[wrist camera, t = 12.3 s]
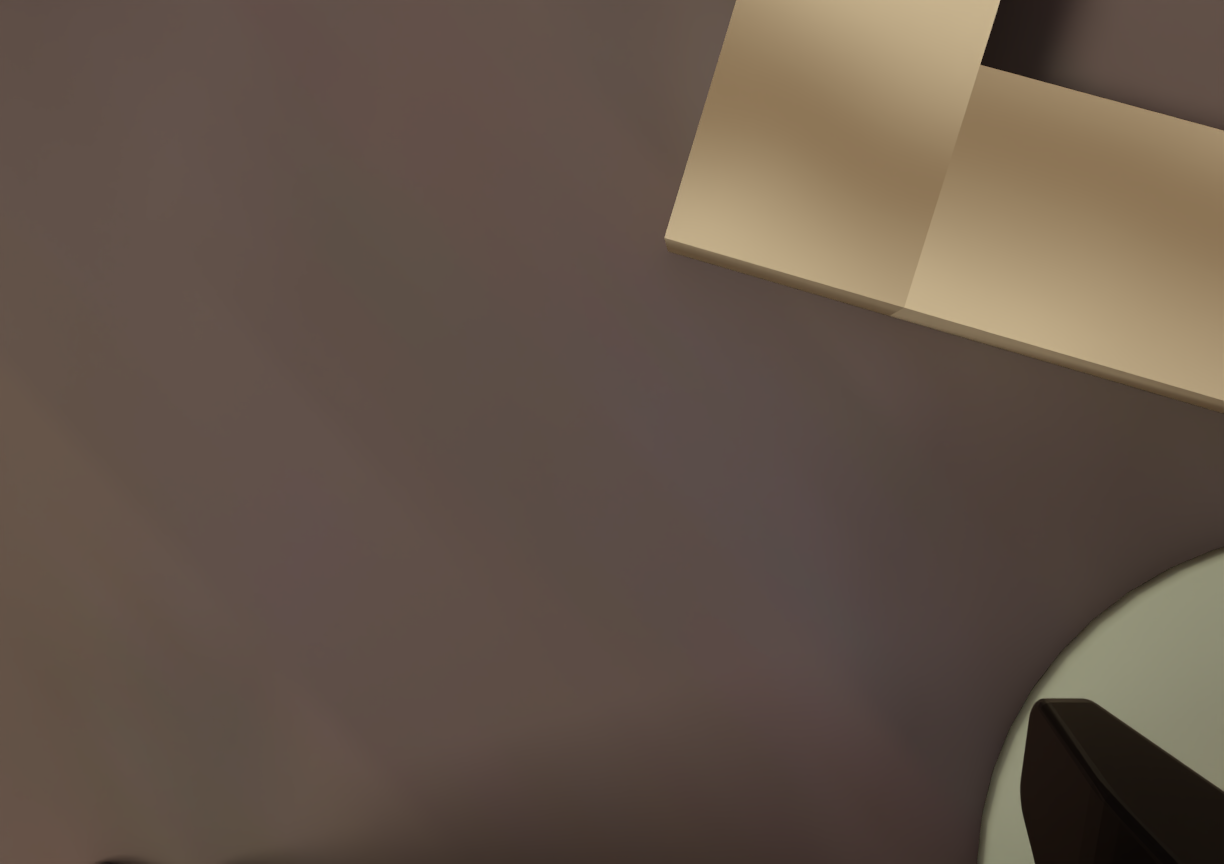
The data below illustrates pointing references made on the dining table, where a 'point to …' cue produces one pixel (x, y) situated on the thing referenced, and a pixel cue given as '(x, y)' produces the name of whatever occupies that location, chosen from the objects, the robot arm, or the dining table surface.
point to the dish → (1131, 687)
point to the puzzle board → (959, 192)
